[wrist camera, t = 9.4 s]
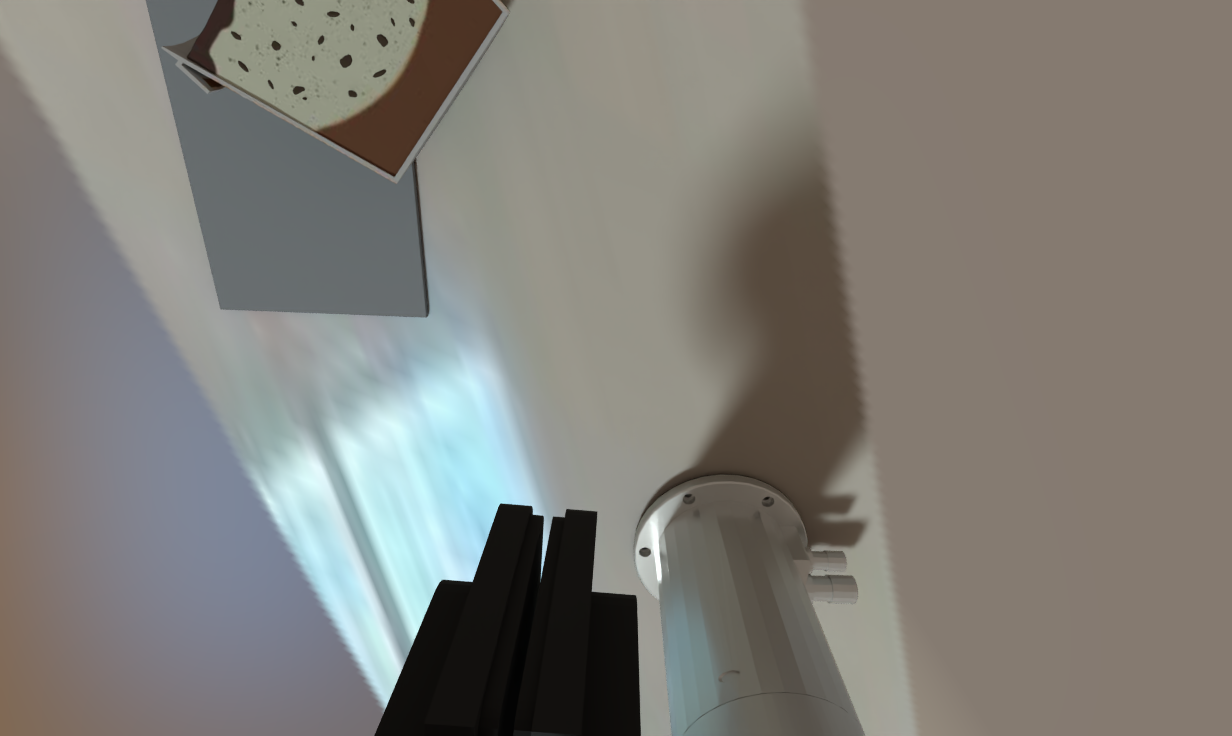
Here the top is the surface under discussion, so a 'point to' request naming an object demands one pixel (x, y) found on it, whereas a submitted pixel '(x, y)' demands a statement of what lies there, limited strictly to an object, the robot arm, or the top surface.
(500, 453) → the top surface
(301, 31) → the food container
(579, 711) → the robot arm
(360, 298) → the rubber mat
